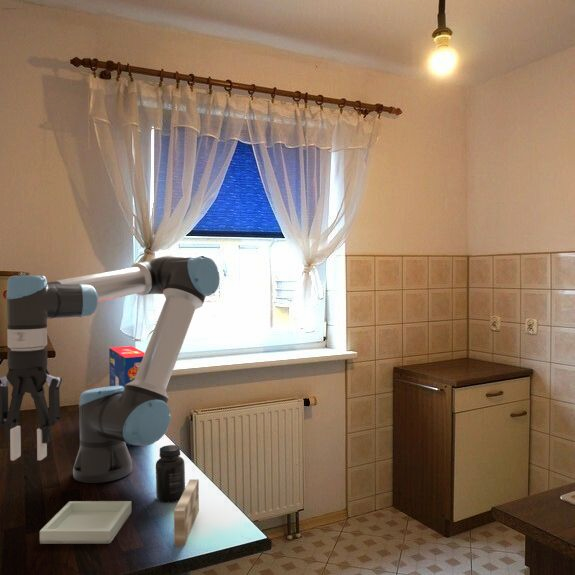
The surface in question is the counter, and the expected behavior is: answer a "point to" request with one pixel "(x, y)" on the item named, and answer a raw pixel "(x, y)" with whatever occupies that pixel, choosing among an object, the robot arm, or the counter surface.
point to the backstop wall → (186, 512)
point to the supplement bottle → (170, 474)
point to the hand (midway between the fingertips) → (28, 457)
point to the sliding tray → (86, 522)
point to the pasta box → (124, 365)
